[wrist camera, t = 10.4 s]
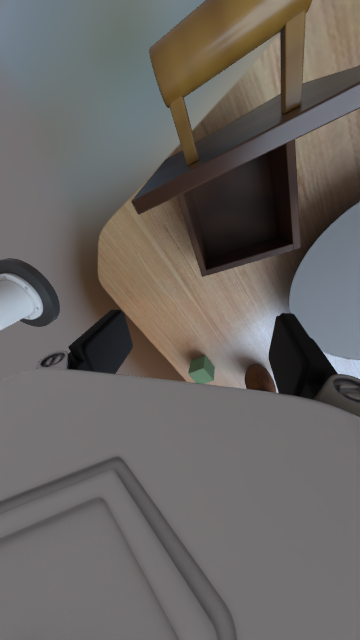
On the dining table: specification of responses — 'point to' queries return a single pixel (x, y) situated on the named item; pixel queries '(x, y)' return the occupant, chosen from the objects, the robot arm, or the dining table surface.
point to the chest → (245, 212)
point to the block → (201, 370)
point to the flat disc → (331, 288)
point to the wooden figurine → (259, 379)
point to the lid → (260, 123)
